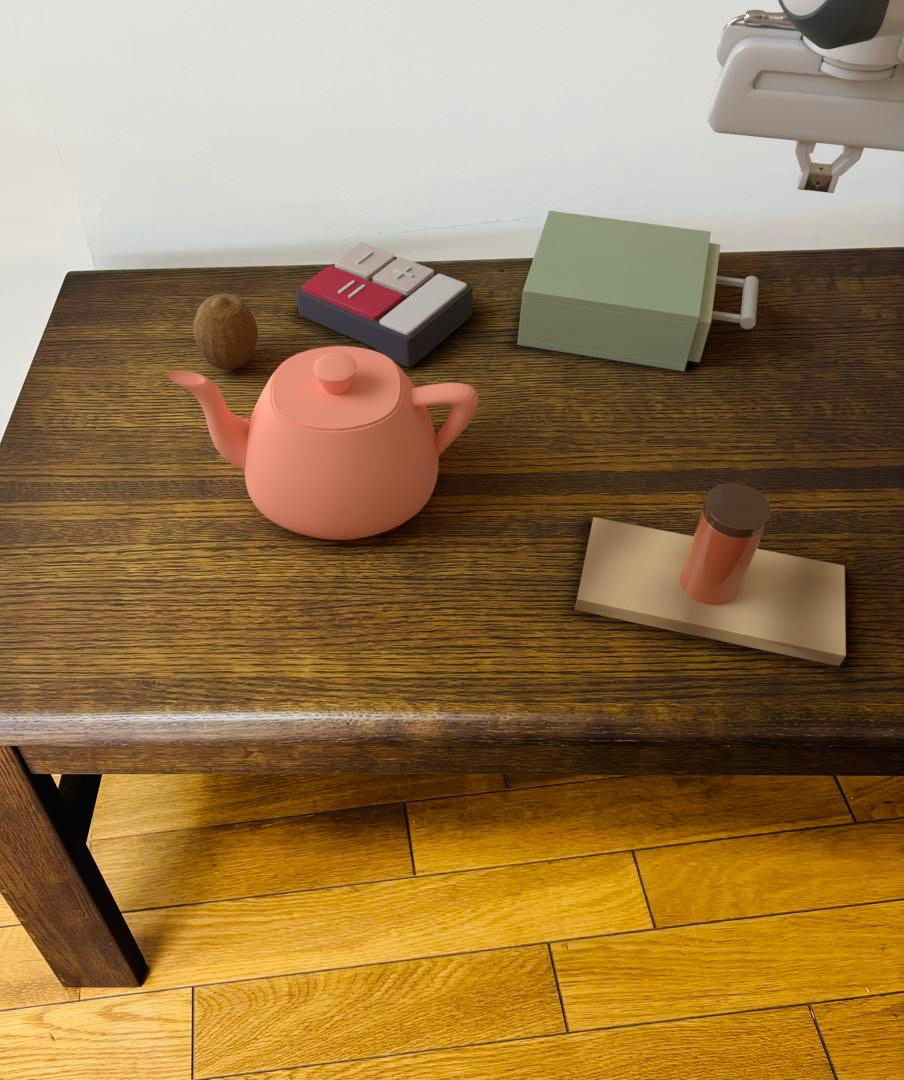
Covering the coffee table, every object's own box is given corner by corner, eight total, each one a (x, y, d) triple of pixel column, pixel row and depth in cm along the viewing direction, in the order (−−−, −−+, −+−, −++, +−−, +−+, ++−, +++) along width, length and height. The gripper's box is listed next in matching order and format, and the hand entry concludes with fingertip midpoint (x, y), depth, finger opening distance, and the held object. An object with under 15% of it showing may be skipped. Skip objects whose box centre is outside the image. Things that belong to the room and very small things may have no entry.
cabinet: (696, 286, 107) (711, 231, 102) (684, 371, 98) (699, 316, 93) (542, 264, 110) (549, 210, 105) (517, 344, 101) (522, 290, 96)
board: (838, 576, 81) (845, 565, 80) (839, 667, 75) (846, 655, 74) (591, 528, 85) (593, 516, 84) (574, 610, 79) (577, 598, 78)
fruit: (187, 367, 100) (173, 301, 94) (231, 336, 103) (220, 271, 97) (230, 393, 98) (219, 326, 92) (274, 360, 101) (266, 294, 95)
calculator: (360, 236, 108) (474, 279, 101) (363, 271, 111) (474, 314, 104) (293, 285, 103) (408, 333, 96) (298, 319, 106) (410, 369, 99)
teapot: (182, 555, 84) (151, 440, 74) (204, 420, 95) (181, 303, 85) (478, 551, 84) (488, 434, 73) (467, 416, 95) (474, 298, 84)
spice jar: (741, 566, 80) (772, 489, 73) (737, 610, 77) (770, 535, 70) (682, 554, 81) (708, 477, 74) (677, 598, 78) (703, 522, 71)
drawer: (751, 289, 105) (764, 249, 101) (745, 370, 96) (758, 329, 93) (563, 263, 109) (568, 223, 105) (541, 337, 100) (546, 298, 97)
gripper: (723, 24, 75) (686, 192, 86) (1022, 47, 71) (944, 222, 81) (729, -8, 79) (693, 156, 90) (1012, 12, 75) (940, 182, 85)
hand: (814, 188), depth 85 cm, fingers closed
